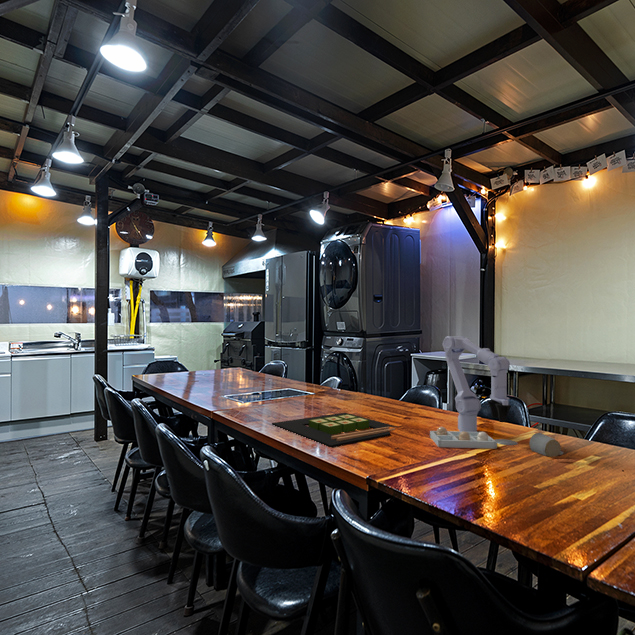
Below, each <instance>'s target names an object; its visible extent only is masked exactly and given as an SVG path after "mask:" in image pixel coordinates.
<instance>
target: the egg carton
mask: <svg viewBox="0 0 635 635" xmlns="http://www.w3.org/2000/svg"><path fill="white" fill-rule="evenodd" d="M479 432H480V431H477V432H468V433H469V435H470V440H459V434H460V433H461V432H460V430H458V431H454V430H453V431H452V430H451V431H449V430H447V435H437V430H429V438H430V439H431V440H432V441H433V443H435V445H436V446H437V447H438V448H457V449H458V448H459V449H460V448H461V449H462V448H463V449H465V448H466V449H493V450H494V449H498V443H497V442H496V441H495V440H496V439H493V437H491V436H489V435H488V441H477V435H478V433H479Z"/></svg>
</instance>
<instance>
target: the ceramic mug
mask: <svg viewBox="0 0 635 635" xmlns="http://www.w3.org/2000/svg"><path fill="white" fill-rule="evenodd" d="M529 447H530V450H531V451H532V452H534V453H537V454H540V455H543V456H545V457H549V458H550V457H558V456H561V455H564V454H565V453H564V451H562V446H561V444H560V442H559V441H558V440H557V439H555V438H554V437H551V436H548V435H546V434H544V433H541V432H536V433H534V434H532V436H531V437H530V439H529Z"/></svg>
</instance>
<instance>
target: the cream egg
mask: <svg viewBox="0 0 635 635" xmlns="http://www.w3.org/2000/svg"><path fill="white" fill-rule="evenodd" d="M478 432H479V433H478V435H477V441H488V436H489V435H488V433H487V432H485V431H478Z"/></svg>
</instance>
